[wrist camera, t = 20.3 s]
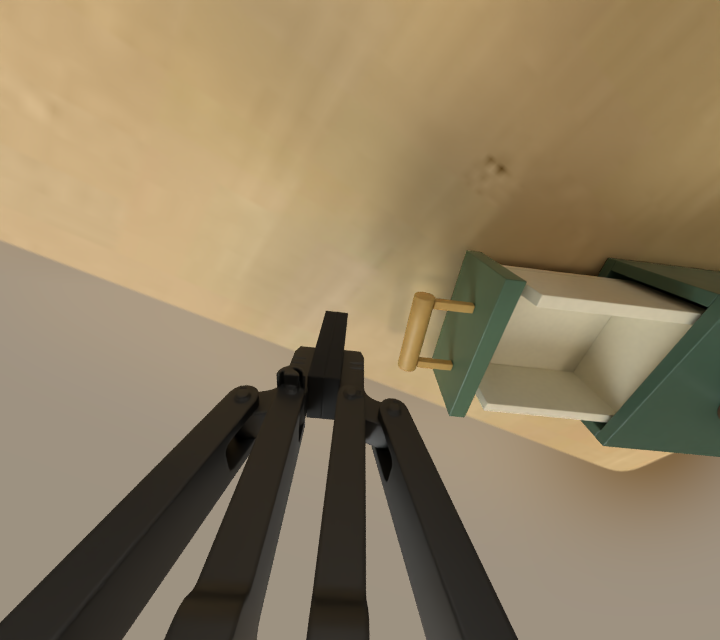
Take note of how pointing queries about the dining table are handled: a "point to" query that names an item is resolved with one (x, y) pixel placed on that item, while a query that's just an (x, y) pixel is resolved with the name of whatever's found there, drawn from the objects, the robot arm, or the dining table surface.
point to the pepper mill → (718, 412)
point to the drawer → (544, 340)
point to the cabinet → (673, 371)
